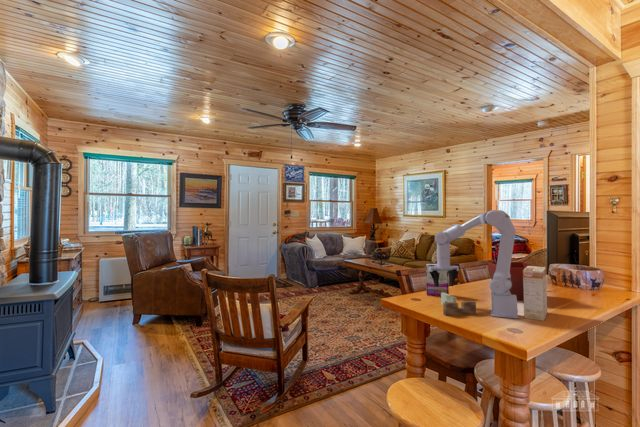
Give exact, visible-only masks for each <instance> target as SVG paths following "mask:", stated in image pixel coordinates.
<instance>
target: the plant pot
mask: <svg viewBox="0 0 640 427" xmlns="http://www.w3.org/2000/svg"><path fill="white" fill-rule="evenodd" d="M496 266H497V261H495V262H494V261H493V262H492V261H491V262H490V261H488V262H487V267H488V272H489V276H490V279H491V281H492V279H493V276H494V273H495V271H496ZM527 266H538V267H542V265H538V264H532V263H528V262H523V261H511V265H510V275H511V277H510V280H511V283H512V287H511V289H509V291H510V293H511V294H512V295H516V297H517V301H524V289H523V270H524V269H525V268H526V267H527Z"/></svg>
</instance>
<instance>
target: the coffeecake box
mask: <svg viewBox="0 0 640 427" xmlns="http://www.w3.org/2000/svg"><path fill="white" fill-rule="evenodd" d="M538 266H539V265H537V266H527V267H526V268H525V269H524V270H523V289H524V300H523V314H524V315H523V318H524V319H529V320H536V321H542V322H545V319H546V317H547V313H548V300H547V299H548V297H547V296H548V294H547V267H546V266H541V267H538Z"/></svg>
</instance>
